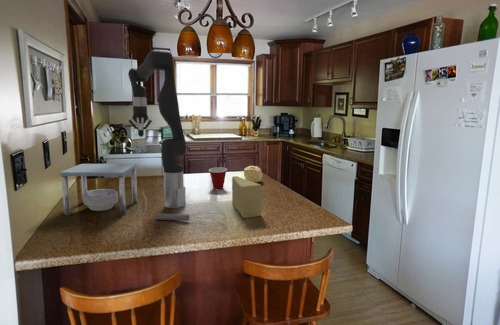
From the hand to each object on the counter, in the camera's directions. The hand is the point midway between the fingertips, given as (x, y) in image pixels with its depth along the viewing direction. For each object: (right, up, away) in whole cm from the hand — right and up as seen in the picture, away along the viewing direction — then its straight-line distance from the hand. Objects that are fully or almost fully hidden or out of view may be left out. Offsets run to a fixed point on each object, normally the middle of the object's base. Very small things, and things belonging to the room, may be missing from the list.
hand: (141, 136), depth 193 cm
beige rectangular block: (+58, -38, -31) cm, 76 cm away
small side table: (-9, -36, -30) cm, 48 cm away
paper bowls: (-9, -37, -30) cm, 49 cm away
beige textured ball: (+64, -28, +29) cm, 75 cm away
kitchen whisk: (+36, -41, -48) cm, 73 cm away
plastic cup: (+43, -30, +10) cm, 53 cm away
